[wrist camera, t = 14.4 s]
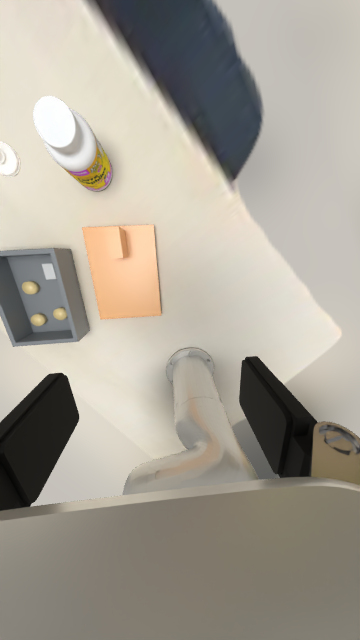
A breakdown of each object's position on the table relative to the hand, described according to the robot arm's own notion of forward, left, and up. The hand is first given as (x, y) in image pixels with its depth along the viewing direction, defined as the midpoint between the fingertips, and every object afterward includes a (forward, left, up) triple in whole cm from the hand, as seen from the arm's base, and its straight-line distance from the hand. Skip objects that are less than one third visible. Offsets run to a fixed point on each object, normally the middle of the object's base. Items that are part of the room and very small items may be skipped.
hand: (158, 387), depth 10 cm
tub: (0, +25, -33) cm, 42 cm away
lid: (+3, +8, -33) cm, 34 cm away
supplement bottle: (+22, +11, -34) cm, 42 cm away
